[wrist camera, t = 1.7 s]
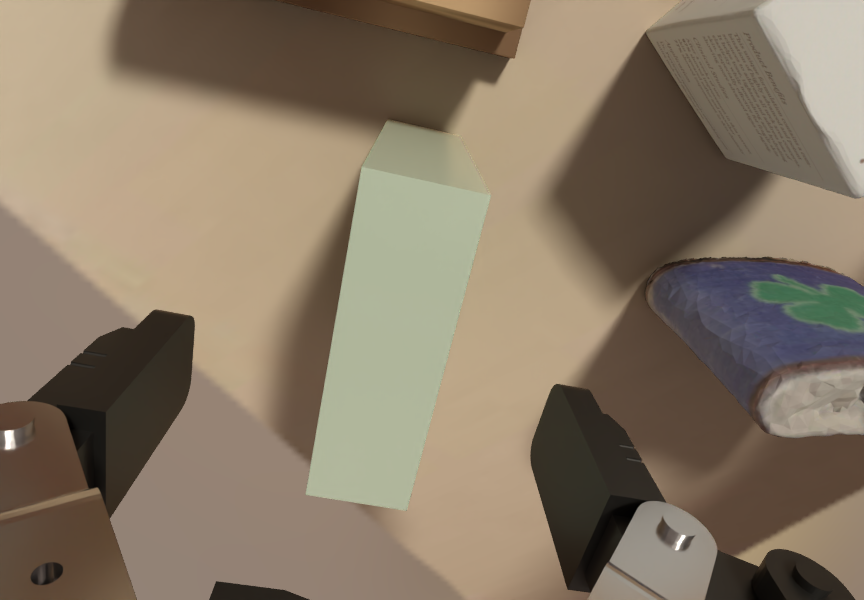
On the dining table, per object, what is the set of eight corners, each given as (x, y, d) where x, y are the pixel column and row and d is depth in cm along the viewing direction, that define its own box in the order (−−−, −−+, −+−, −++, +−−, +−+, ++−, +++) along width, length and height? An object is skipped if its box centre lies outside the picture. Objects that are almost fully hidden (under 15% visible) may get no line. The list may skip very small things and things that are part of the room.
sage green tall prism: (460, 135, 21) (490, 194, 12) (411, 341, 25) (406, 510, 15) (387, 119, 21) (361, 166, 12) (348, 330, 24) (305, 495, 15)
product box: (871, 52, 20) (1095, 48, 13) (721, 162, 22) (856, 209, 15) (797, -105, 18) (1017, -200, 12) (638, 28, 20) (751, 13, 13)
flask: (636, 311, 24) (785, 483, 14) (652, 246, 23) (827, 386, 13) (839, 326, 25) (1118, 503, 15) (865, 264, 24) (1186, 411, 14)
